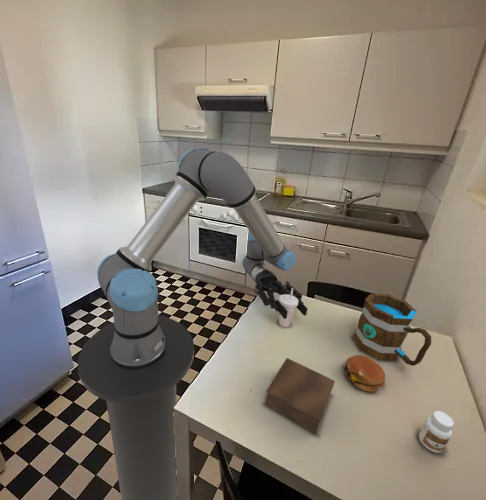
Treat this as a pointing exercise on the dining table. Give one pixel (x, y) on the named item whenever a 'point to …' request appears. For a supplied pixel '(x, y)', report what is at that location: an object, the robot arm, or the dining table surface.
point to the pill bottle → (436, 431)
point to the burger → (364, 373)
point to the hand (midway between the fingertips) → (295, 313)
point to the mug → (387, 328)
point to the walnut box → (300, 394)
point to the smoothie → (288, 308)
